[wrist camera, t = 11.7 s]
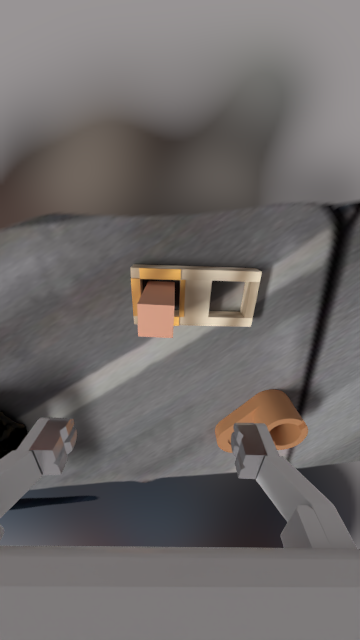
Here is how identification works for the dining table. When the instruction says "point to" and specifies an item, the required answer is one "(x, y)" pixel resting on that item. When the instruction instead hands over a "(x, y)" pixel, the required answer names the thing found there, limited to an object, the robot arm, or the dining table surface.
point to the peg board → (200, 292)
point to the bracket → (266, 420)
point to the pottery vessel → (10, 435)
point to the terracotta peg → (156, 310)
